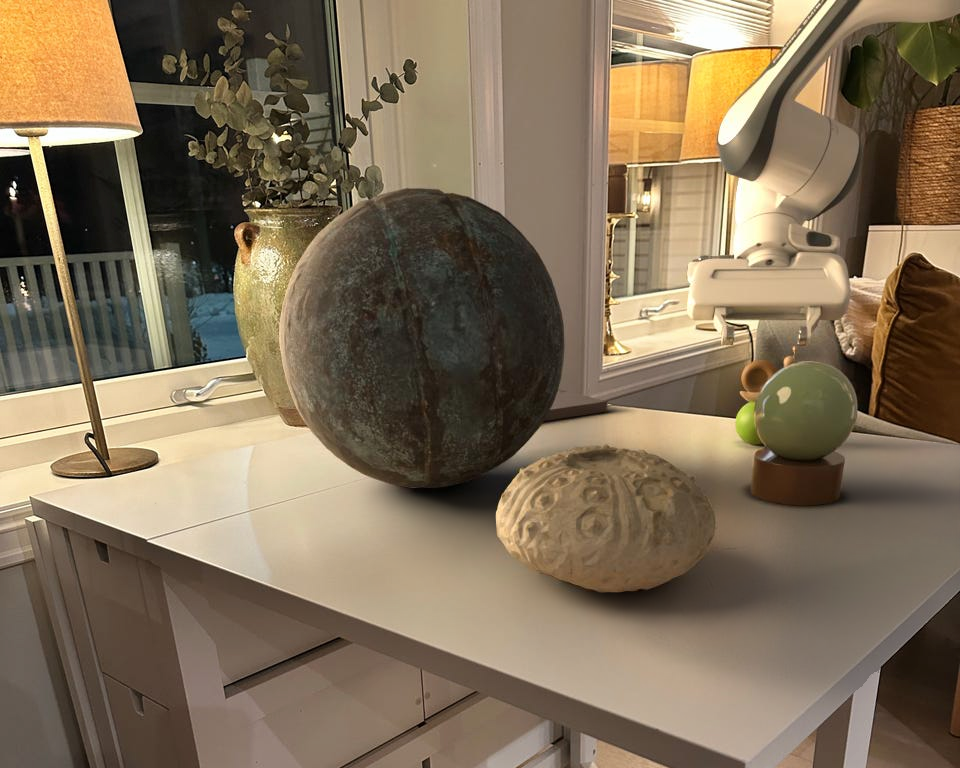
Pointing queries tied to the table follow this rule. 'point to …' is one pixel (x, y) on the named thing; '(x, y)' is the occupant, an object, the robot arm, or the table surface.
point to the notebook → (574, 405)
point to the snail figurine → (755, 395)
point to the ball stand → (802, 434)
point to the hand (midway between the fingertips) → (765, 342)
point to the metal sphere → (422, 338)
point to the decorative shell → (606, 519)
